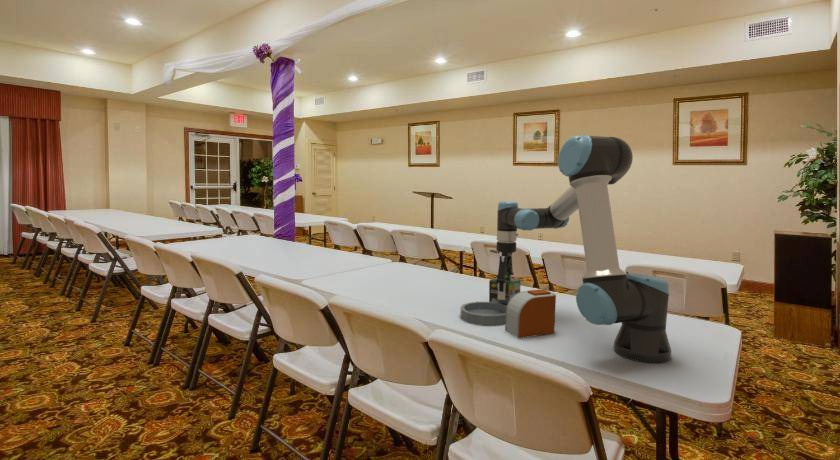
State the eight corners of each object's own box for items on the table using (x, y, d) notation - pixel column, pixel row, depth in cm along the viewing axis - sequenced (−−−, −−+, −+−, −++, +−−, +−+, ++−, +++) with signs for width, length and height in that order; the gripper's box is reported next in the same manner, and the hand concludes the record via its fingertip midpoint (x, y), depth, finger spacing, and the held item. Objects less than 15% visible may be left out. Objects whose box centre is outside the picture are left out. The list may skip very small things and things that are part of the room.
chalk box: (520, 308, 182) (522, 271, 180) (508, 313, 175) (509, 274, 174) (500, 303, 188) (501, 267, 187) (487, 308, 181) (488, 271, 180)
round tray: (506, 328, 157) (507, 318, 157) (454, 321, 164) (455, 312, 163) (515, 313, 175) (515, 304, 174) (467, 308, 181) (468, 299, 181)
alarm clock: (541, 325, 161) (543, 287, 160) (556, 333, 153) (558, 293, 152) (504, 330, 156) (505, 290, 154) (518, 338, 148) (520, 296, 146)
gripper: (511, 246, 166) (508, 304, 168) (521, 238, 189) (518, 288, 192) (490, 245, 169) (488, 302, 171) (502, 236, 192) (500, 287, 194)
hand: (504, 295), depth 181 cm, fingers open, 13 cm apart
